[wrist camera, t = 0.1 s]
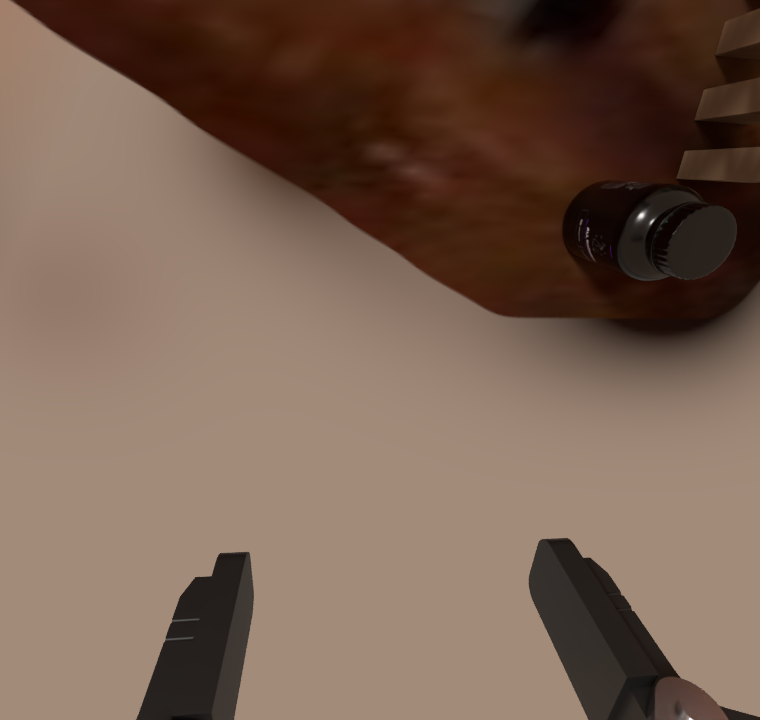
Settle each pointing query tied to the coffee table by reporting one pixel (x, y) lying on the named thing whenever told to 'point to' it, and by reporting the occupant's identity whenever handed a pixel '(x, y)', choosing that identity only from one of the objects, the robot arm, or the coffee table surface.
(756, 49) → the domino
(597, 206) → the supplement bottle
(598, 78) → the coffee table surface
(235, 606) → the robot arm
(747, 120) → the domino
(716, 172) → the domino
